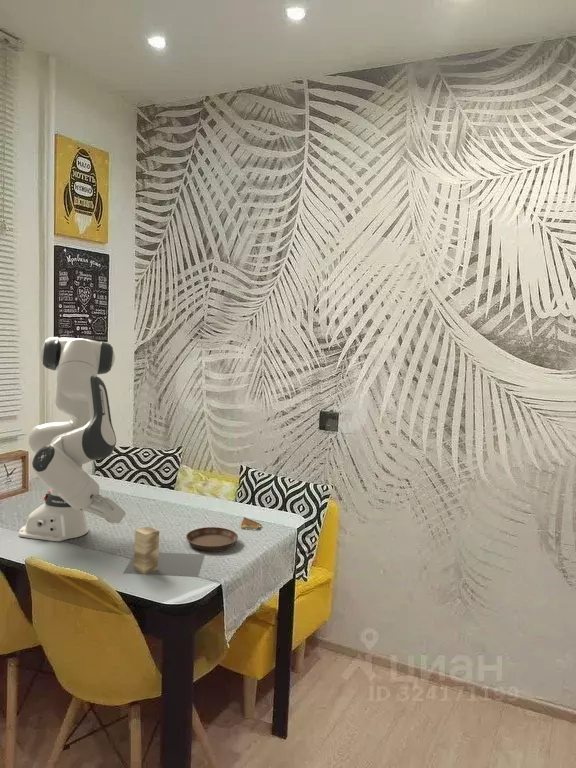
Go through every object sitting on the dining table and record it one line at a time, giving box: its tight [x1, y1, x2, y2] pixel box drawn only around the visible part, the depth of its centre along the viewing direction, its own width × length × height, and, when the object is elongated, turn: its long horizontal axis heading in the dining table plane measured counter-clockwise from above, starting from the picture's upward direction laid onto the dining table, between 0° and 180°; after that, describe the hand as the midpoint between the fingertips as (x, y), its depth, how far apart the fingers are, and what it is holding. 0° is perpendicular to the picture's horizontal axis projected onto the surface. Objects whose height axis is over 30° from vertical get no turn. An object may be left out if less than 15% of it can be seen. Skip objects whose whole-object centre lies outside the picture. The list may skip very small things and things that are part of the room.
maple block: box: [133, 526, 160, 575], centre depth 180 cm, size 5×5×12 cm
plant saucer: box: [185, 526, 239, 552], centre depth 207 cm, size 18×18×3 cm
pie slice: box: [240, 516, 263, 530], centre depth 228 cm, size 11×8×2 cm
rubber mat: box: [122, 552, 206, 578], centre depth 185 cm, size 22×17×1 cm
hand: (112, 520), depth 169 cm, fingers closed
